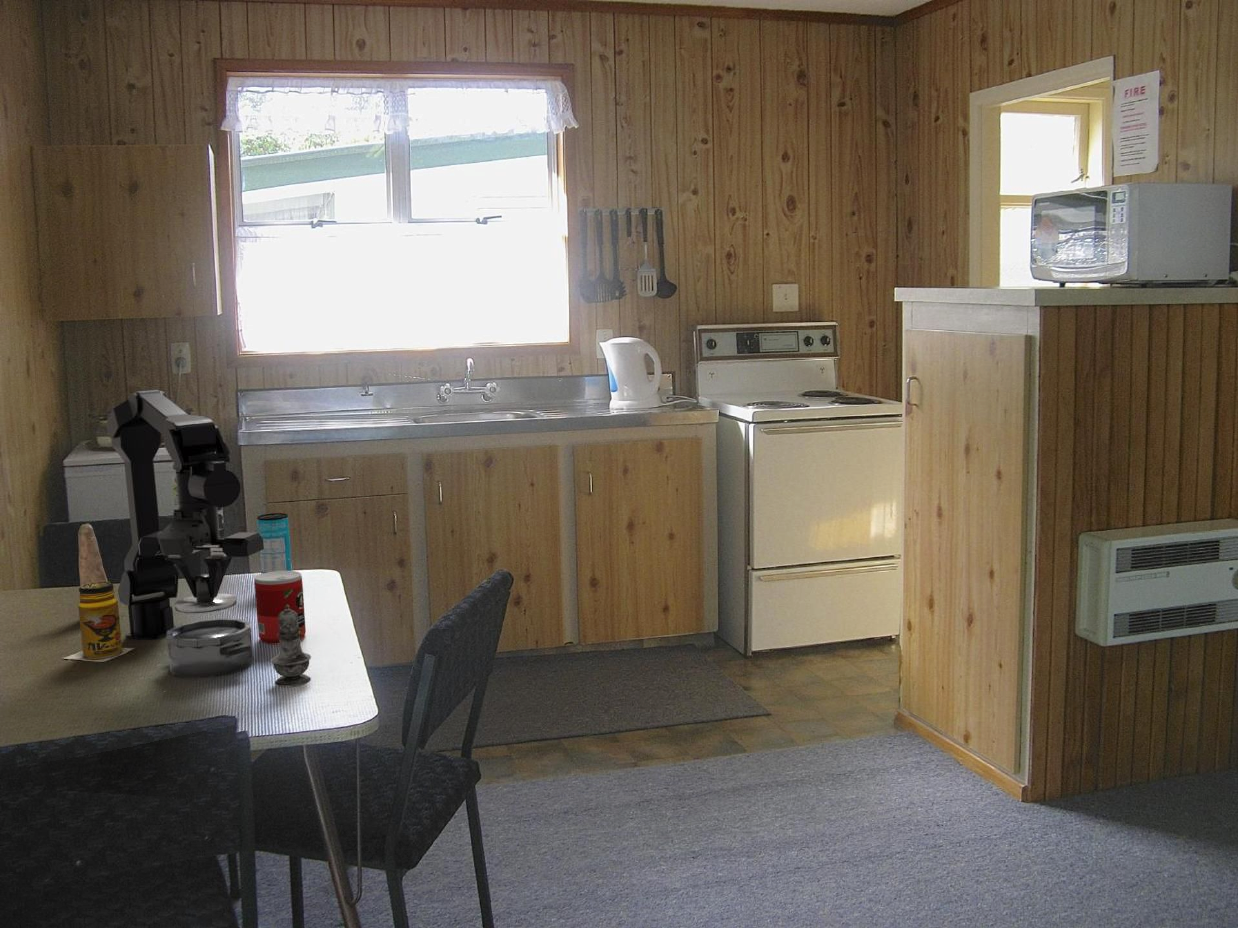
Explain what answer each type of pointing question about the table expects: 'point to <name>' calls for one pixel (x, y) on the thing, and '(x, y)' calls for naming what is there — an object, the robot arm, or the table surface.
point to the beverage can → (275, 542)
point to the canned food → (278, 602)
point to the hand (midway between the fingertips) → (205, 597)
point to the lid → (204, 599)
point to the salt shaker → (290, 652)
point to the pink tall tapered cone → (89, 557)
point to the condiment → (99, 623)
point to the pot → (209, 648)
